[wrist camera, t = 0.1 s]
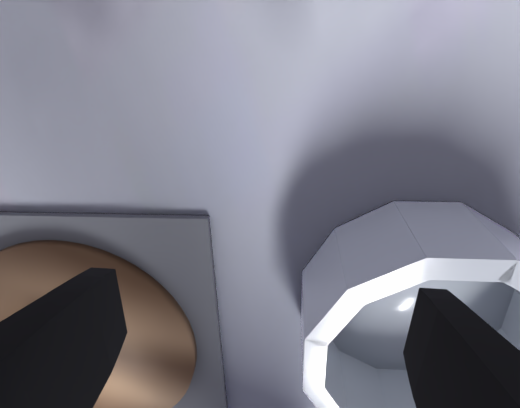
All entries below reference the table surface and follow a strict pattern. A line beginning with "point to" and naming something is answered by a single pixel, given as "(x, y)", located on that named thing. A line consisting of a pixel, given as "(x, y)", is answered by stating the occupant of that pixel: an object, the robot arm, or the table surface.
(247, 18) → the table surface
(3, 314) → the walnut lid
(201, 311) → the grey square pad
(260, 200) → the table surface
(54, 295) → the robot arm
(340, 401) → the grey bowl
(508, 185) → the table surface
